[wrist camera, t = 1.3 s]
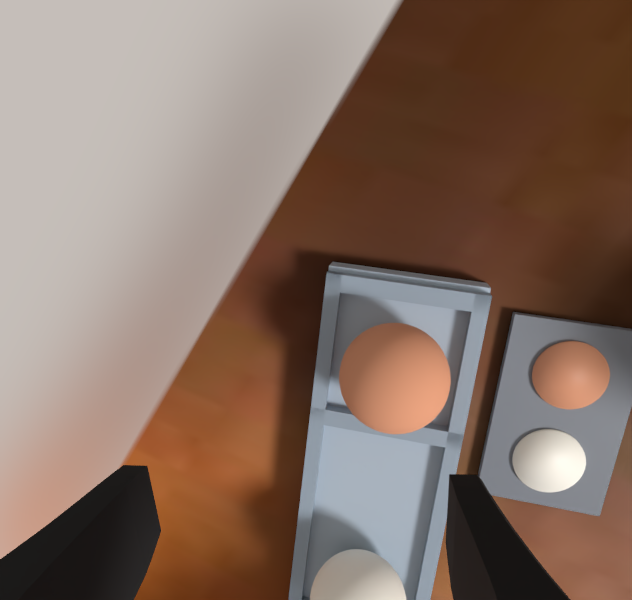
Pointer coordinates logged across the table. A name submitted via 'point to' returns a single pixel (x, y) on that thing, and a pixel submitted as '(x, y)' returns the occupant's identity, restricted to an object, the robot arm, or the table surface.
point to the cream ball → (357, 578)
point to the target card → (558, 412)
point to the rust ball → (394, 378)
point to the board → (381, 448)
